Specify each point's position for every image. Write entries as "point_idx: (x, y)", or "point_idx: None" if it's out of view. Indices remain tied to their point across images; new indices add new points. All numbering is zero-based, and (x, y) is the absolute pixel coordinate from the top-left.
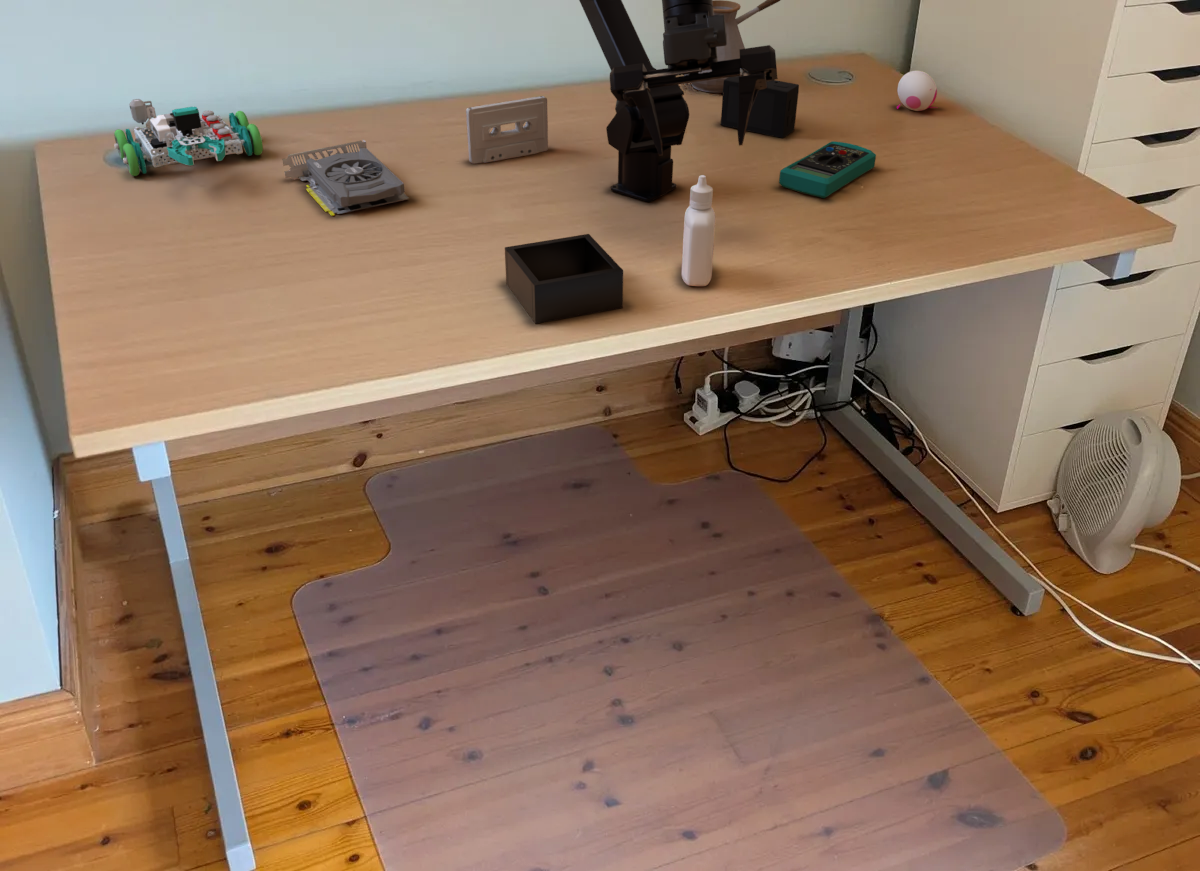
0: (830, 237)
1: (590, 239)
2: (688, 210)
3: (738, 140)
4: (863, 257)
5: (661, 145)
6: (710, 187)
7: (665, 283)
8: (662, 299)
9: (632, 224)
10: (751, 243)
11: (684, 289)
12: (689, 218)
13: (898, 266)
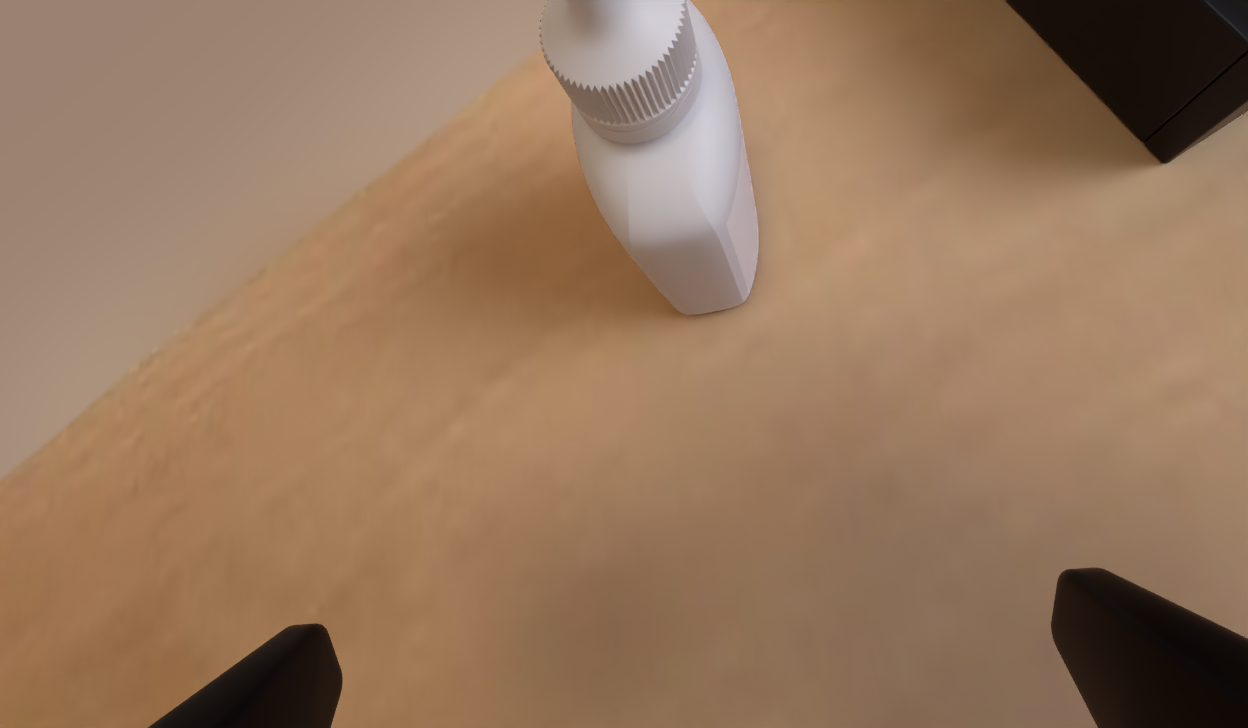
0: None
1: (1244, 9)
2: (708, 61)
3: (305, 637)
4: (195, 513)
5: (1113, 663)
6: (551, 34)
7: (806, 148)
8: (795, 29)
9: None
10: (533, 563)
11: None
12: (695, 12)
13: (114, 467)
